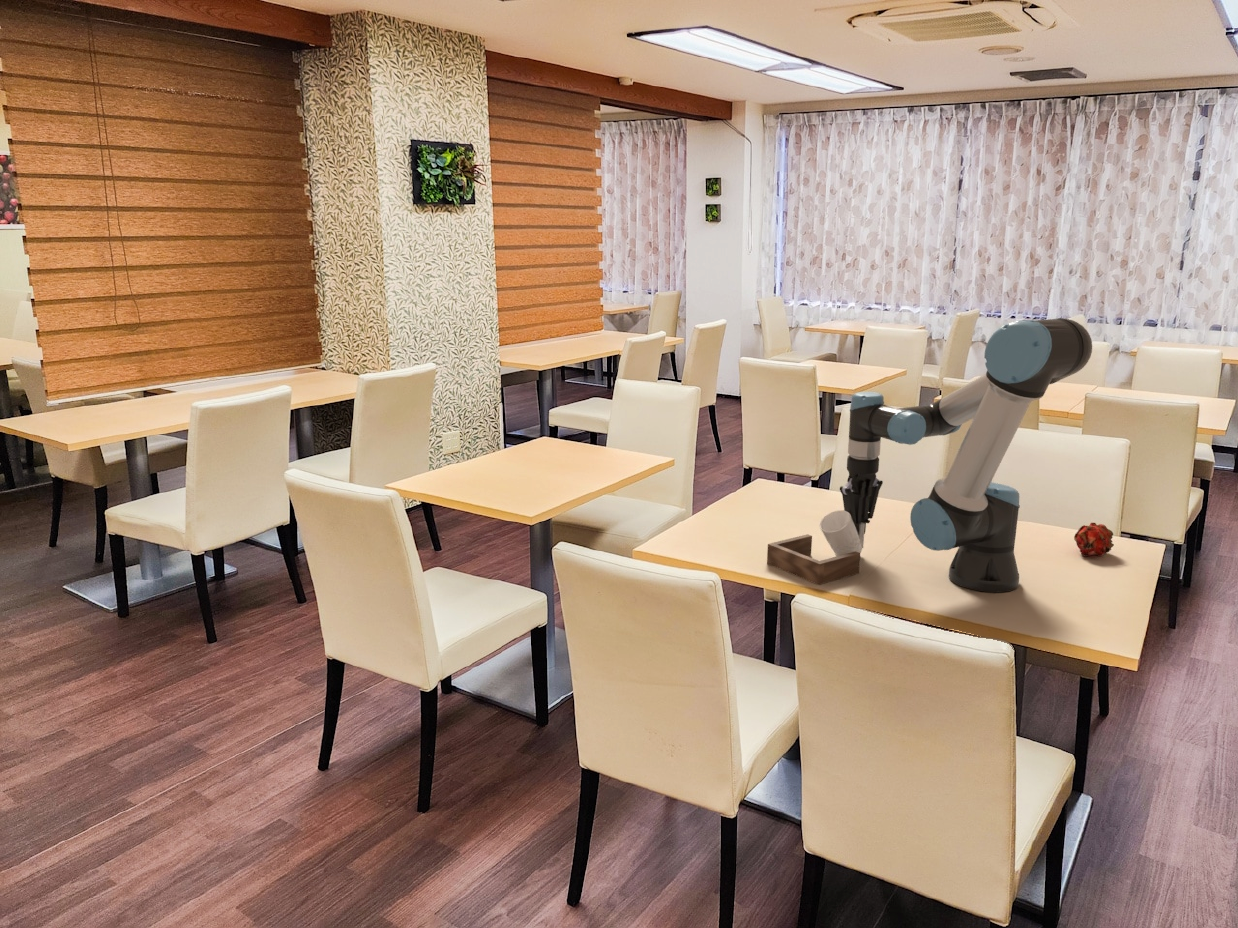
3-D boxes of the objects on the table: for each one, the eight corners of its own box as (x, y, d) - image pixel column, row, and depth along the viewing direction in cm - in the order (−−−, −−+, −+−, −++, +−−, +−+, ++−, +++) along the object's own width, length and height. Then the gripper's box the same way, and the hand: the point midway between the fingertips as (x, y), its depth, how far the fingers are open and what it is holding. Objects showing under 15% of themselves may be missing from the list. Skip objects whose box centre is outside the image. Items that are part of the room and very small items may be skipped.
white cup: (866, 556, 225) (852, 525, 220) (835, 565, 227) (820, 536, 223) (862, 536, 231) (849, 506, 227) (832, 545, 234) (818, 516, 229)
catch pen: (858, 573, 219) (860, 553, 218) (818, 584, 212) (819, 564, 211) (806, 553, 233) (807, 534, 232) (766, 563, 226) (767, 543, 224)
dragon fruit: (1101, 553, 238) (1087, 572, 230) (1073, 530, 241) (1059, 548, 232) (1125, 533, 233) (1112, 552, 224) (1097, 510, 235) (1083, 527, 227)
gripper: (869, 448, 232) (863, 537, 238) (833, 456, 225) (827, 547, 231) (893, 455, 226) (886, 546, 232) (856, 463, 219) (850, 556, 225)
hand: (857, 546), depth 232 cm, fingers closed
